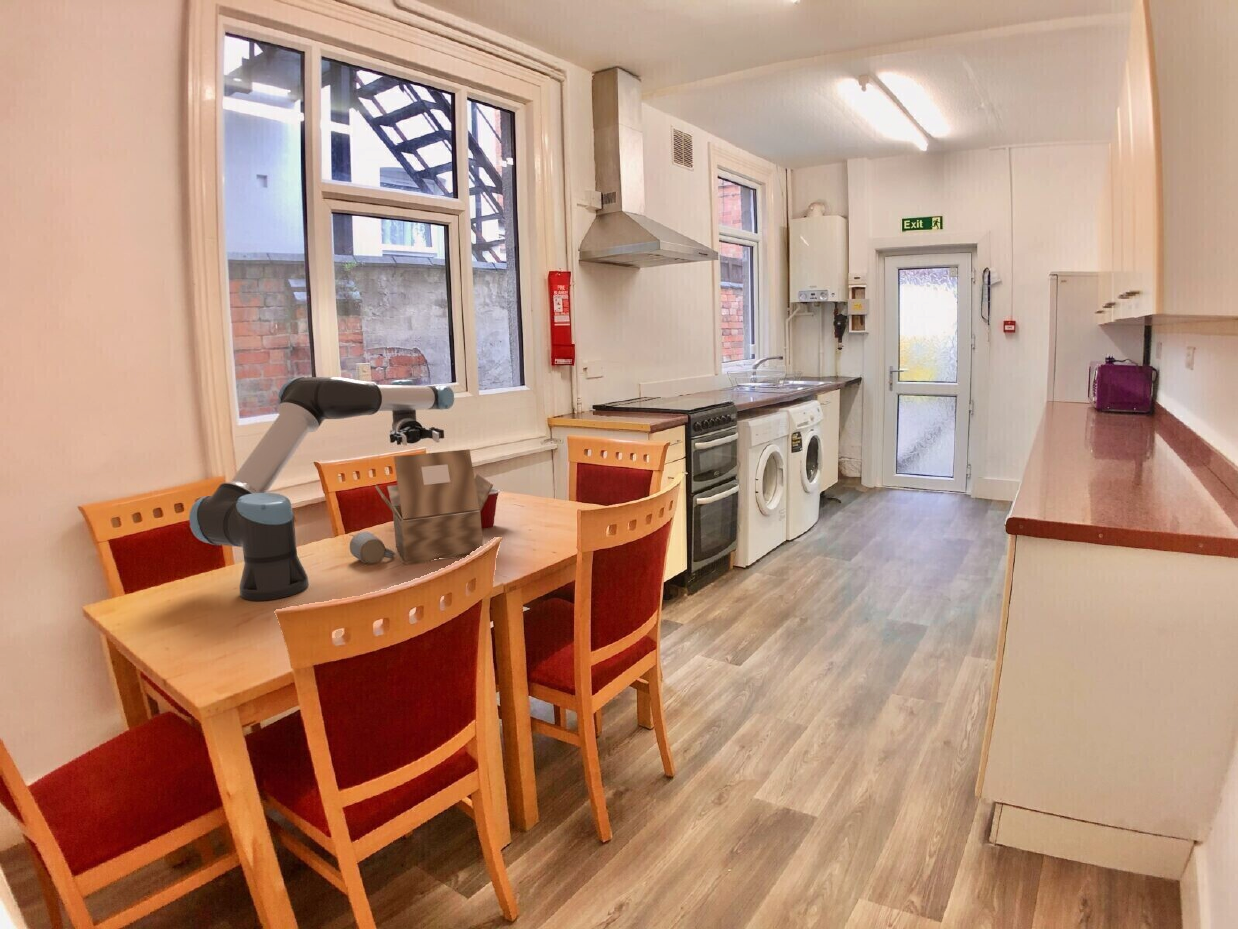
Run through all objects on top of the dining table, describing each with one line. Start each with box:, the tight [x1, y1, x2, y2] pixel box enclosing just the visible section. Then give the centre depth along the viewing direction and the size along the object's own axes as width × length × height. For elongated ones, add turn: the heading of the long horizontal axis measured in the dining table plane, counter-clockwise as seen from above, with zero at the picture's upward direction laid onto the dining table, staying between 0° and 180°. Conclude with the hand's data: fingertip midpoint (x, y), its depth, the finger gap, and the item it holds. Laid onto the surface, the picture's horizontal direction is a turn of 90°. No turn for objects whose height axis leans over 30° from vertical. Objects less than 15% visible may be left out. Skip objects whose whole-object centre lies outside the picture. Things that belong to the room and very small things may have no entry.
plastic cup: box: [480, 488, 501, 530], centre depth 230 cm, size 11×11×12 cm
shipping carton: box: [374, 474, 494, 566], centre depth 209 cm, size 30×26×19 cm
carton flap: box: [393, 449, 479, 519], centre depth 198 cm, size 20×17×1 cm
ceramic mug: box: [349, 531, 395, 565], centre depth 199 cm, size 11×8×8 cm
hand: (421, 439), depth 214 cm, fingers open, 9 cm apart
